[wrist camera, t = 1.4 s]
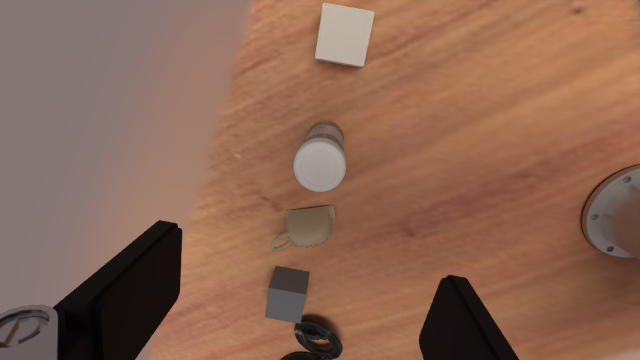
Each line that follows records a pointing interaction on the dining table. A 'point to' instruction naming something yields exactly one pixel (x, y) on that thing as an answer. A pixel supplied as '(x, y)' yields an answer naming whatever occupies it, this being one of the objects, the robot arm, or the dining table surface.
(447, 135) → the dining table surface
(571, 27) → the dining table surface
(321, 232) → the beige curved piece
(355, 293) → the dining table surface
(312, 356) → the milk frother
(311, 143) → the sprinkles bottle
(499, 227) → the dining table surface
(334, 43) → the off-white block
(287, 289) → the charcoal block
